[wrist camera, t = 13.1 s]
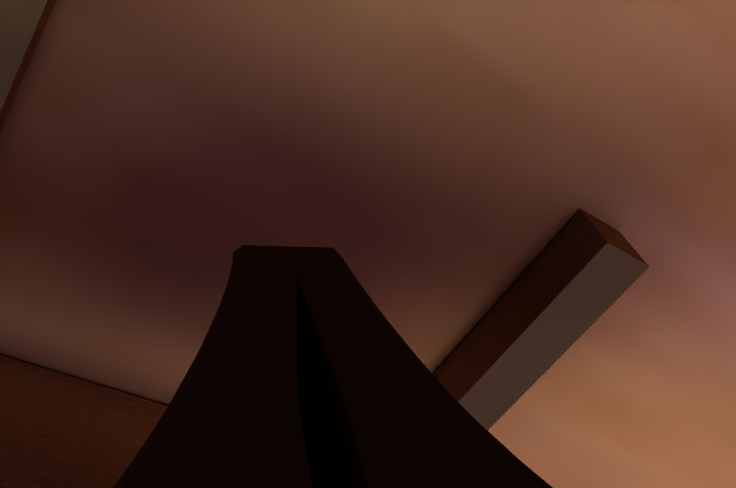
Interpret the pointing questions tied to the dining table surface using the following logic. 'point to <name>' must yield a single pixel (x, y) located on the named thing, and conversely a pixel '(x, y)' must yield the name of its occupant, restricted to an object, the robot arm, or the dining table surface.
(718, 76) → the dining table surface
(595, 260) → the vise bed
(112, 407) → the block
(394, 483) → the robot arm
